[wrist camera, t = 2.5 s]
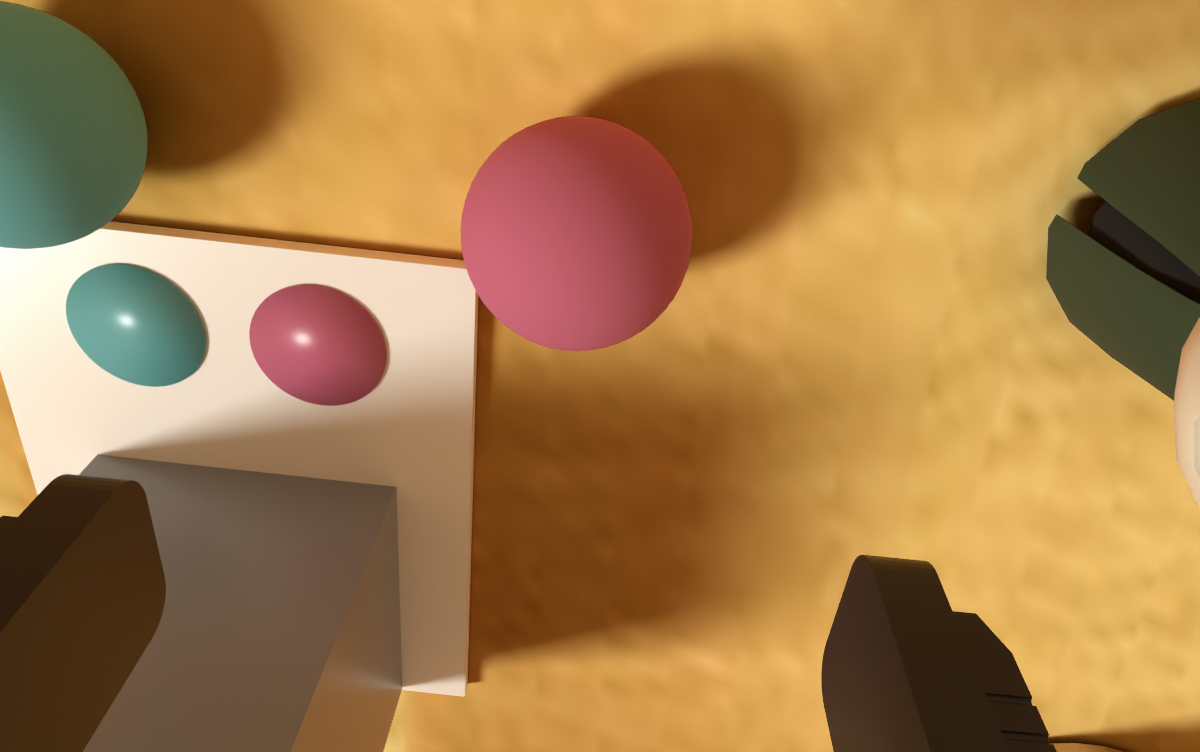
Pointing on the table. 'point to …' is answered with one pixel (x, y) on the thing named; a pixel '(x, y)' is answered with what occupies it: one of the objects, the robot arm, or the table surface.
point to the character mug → (1143, 264)
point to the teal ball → (62, 132)
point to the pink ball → (576, 233)
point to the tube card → (263, 469)
